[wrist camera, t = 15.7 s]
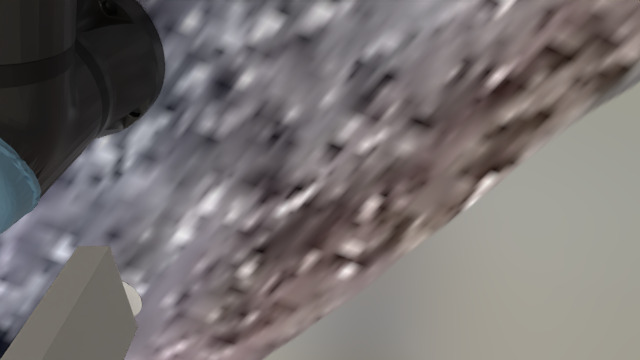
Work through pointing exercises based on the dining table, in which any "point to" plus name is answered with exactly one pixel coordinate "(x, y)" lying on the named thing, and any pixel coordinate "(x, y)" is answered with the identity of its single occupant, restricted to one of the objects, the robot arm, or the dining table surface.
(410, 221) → the dining table surface
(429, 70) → the dining table surface
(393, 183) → the dining table surface
